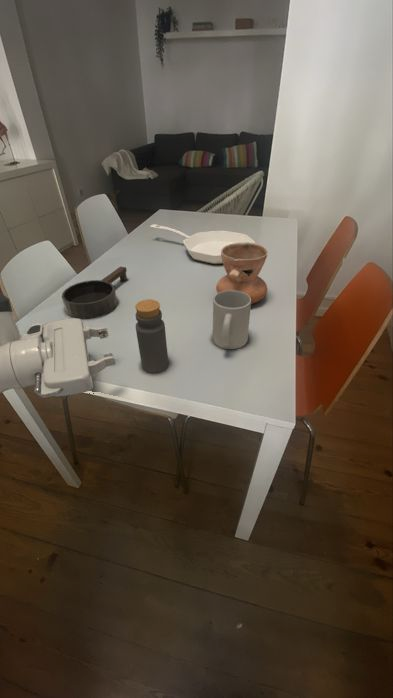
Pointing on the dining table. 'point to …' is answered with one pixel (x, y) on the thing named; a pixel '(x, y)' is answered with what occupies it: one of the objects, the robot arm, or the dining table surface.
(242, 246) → the ceramic jug
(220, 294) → the mug
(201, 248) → the pan
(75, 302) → the dark low round container
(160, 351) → the bottle
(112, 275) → the dark brown rectangular block
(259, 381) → the dining table surface
